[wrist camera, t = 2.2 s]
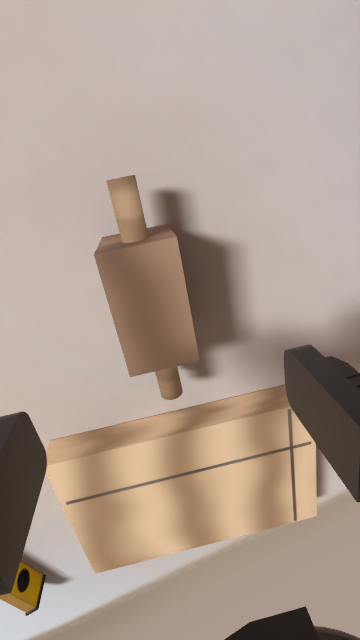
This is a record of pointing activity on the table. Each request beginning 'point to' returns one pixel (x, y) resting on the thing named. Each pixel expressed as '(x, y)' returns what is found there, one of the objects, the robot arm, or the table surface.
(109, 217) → the table surface
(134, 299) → the tan peg block
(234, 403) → the oak board
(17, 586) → the spirit level
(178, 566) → the table surface
